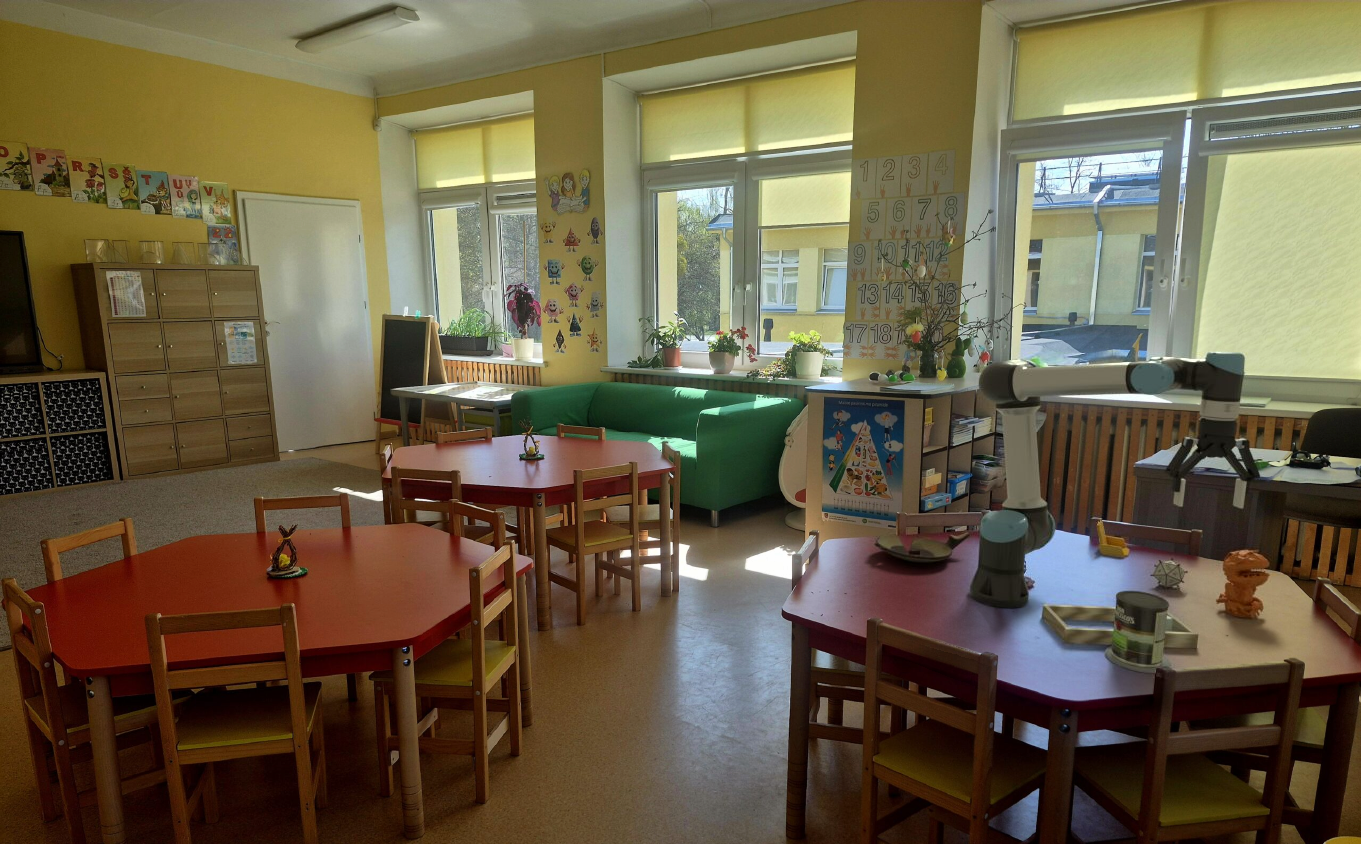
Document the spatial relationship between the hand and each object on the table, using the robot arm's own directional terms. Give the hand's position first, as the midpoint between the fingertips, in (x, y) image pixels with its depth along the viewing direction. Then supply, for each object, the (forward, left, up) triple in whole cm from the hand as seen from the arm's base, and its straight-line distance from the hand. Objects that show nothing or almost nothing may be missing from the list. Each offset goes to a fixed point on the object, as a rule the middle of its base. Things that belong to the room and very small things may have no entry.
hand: (1207, 506), depth 185 cm
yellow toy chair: (+9, +64, -33) cm, 73 cm away
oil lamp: (-54, +50, -33) cm, 81 cm away
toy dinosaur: (+20, +15, -33) cm, 41 cm away
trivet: (-20, -15, -33) cm, 41 cm away
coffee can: (-20, -15, -32) cm, 41 cm away
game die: (+11, +33, -33) cm, 48 cm away
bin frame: (-18, 0, -33) cm, 37 cm away
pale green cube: (-9, 0, -33) cm, 34 cm away
